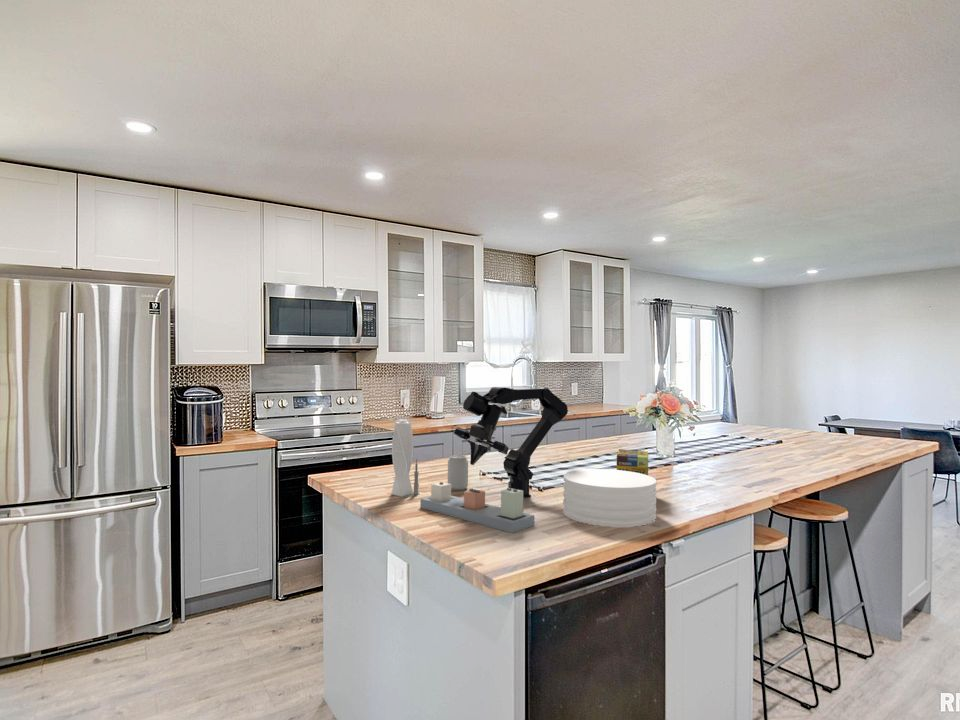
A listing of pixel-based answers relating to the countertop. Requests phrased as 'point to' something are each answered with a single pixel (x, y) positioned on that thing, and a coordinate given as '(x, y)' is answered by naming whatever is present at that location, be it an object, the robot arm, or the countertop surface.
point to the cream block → (441, 491)
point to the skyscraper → (403, 459)
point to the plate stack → (609, 497)
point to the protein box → (632, 461)
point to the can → (458, 472)
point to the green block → (511, 503)
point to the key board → (478, 514)
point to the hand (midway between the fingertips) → (471, 464)
